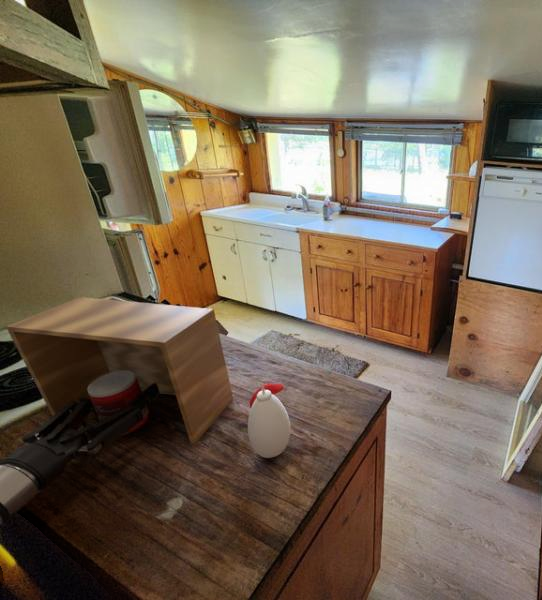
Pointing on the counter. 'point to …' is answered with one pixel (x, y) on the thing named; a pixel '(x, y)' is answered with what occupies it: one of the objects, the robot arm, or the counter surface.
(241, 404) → the counter surface
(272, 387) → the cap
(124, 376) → the canned food
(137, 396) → the robot arm
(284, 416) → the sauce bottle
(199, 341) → the cupboard
